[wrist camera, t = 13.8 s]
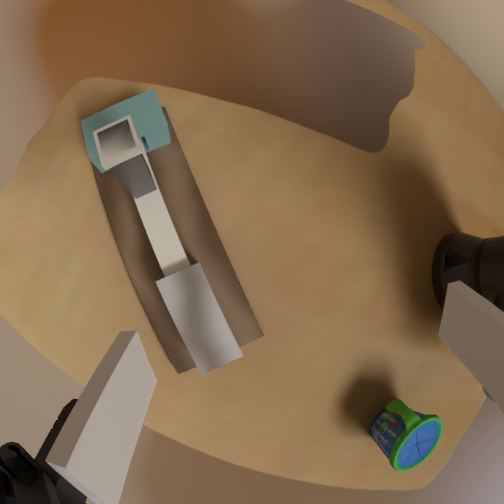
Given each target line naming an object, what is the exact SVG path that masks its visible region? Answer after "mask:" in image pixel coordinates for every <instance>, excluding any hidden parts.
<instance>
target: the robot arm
mask: <svg viewBox="0 0 504 504" xmlns="http://www.w3.org/2000/svg"><path fill="white" fill-rule="evenodd" d="M433 286H434V291H435V294H436V297H437V300H438V302H439V303H440V305H441V306H442V307H443V308H444V310H443V315H442V319H441V324H440V328H439V333H438V336H439V337H440V338H441V340H442V341H443V342H444V343H445V344H446V345H447V346H448V347H449V348H450V349H451V350H452V351H453V353H454V354H455V355H456V356H457V357H458V358H459V359H460V360H461V362H462V363H463V364H464V365H465V366H466V367H467V368H468V370H469V371H470V372H471V373H472V374H473V375H474V377H475V378H476V379H477V380H478V381H479V382H480V384H481V385H482V387H483V390H484V392H485V394H486V395H487V396H488V397H489V398H490V399H491V400H492V401H494V402H496V403H497V405H498V406H499V407H500V408H501V410H502V411H503V412H504V236H501V237H493V238H486V239H483V238H479V237H476V236H472V235H469V234H465V233H454V234H449V235H447V236H446V237H444V238H443V239H442V241H441V242H440V244H439V246H438V248H437V250H436V253H435V257H434V262H433ZM156 384H157V379H156V377H155V374H154V372H153V370H152V368H151V365H150V363H149V360H148V358H147V356H146V353H145V351H144V348H143V346H142V343H141V341H140V338H139V335H138V333H137V331H121V332H120V333H119V335H118V336H117V338H116V339H115V341H114V342H113V344H112V345H111V347H110V348H109V350H108V352H107V353H106V355H105V356H104V358H103V359H102V361H101V363H100V364H99V366H98V367H97V369H96V371H95V372H94V374H93V375H92V377H91V379H90V380H89V382H88V384H87V385H86V387H85V389H84V390H83V392H82V394H81V396H80V397H79V399H73V400H71V401H70V402H69V403H68V404H67V405H66V406H65V407H64V408H63V410H62V411H61V413H60V415H59V416H58V420H56V421H55V423H54V425H53V428H52V429H51V430H50V432H49V434H48V436H47V438H46V439H45V441H44V443H43V445H42V447H41V449H40V450H39V452H38V454H37V456H36V458H35V459H33V458H32V457H31V456H30V455H29V454H28V453H27V451H25V449H24V448H23V447H22V446H21V445H20V444H18V443H15V442H9V443H6V444H4V445H2V446H1V447H0V504H86V503H85V502H86V499H87V497H88V498H89V499H90V500H92V501H93V502H94V503H96V504H118V503H119V499H120V496H121V492H122V488H123V485H124V482H125V478H126V475H127V472H128V468H129V465H130V462H131V458H132V455H133V452H134V449H135V446H136V443H137V439H138V436H139V433H140V430H141V427H142V424H143V421H144V418H145V415H146V412H147V409H148V406H149V404H150V401H151V398H152V395H153V392H154V389H155V386H156Z"/></svg>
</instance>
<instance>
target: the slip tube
mask: <svg viewBox="0 0 504 504" xmlns="http://www.w3.org/2000/svg"><path fill="white" fill-rule="evenodd" d="M93 135H94V139H95V143H96V147H97V151H98V155H99V158H100V162H101V166H102V167H103V168H104V169H105V170H107V169H109V168H111V170H112V171H113V172H114V173H115V175H116V176H117V177H118V178H119V179H120V181H121V182H122V183H123V184H124V185H125V187H126V188H127V189H128V190H129V191H130V193H131V194H132V195H133V197H134V200H135V203H136V206H137V208H138V211H139V214H140V217H141V219H142V222H143V225H144V227H145V230H146V232H147V235H148V237H149V240H150V242H151V245H152V247H153V250H154V252H155V255H156V257H157V260H158V262H159V264H160V267H161V269H162V271H163V274H164V276H165V277H167V276H169V275H172V274H174V273H176V272H178V271H180V270H183V269H185V268H187V267H189V266H191V264H190V262H189V260H188V257H187V255H186V253H185V251H184V248H183V246H182V243H181V241H180V239H179V236H178V234H177V232H176V229H175V227H174V224H173V222H172V219H171V217H170V214H169V212H168V209H167V207H166V204H165V202H164V199H163V197H162V194H161V192H160V189H159V186H158V184H157V181H156V178H155V176H154V173H153V170H152V168H151V165H150V162H149V159H148V157H147V154H146V151H145V148H144V145H143V142H142V139H141V138H138V135H137V132H136V129H135V126H134V123H133V120H132V118H131V115H128V116H126V117H124V118H121V119H119V120H117V121H115V122H113V123H110V124H108V125H106V126H104V127H102V128H100V129H98V130H96V131H94V132H93Z"/></svg>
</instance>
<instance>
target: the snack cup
mask: <svg viewBox="0 0 504 504" xmlns="http://www.w3.org/2000/svg"><path fill="white" fill-rule="evenodd" d="M442 428H443V425H442V421H441V420H440V419H439V417H438V416H437V415H425V414H421V413H419V412H416V411H412V410H411V409H410V408H408V407H407V406H406V405H405V404H404V403H403V402H402V401H401V400H400V399H394V400H392V401H391V402H390V403H389V404H387V405H386V410H384V411H383V412H382V413H381V414H380V415H379V416H378V417H377V419H376V420H375V422H374V424H373V426H372V428H371V432H372V433H371V435H372V437H373V439H374V441H375V442H376V443H377V445H378V446H379V447H380V449H381V450H382V451H383V453H384V454H385V455H386V457H387V458H388V459H389V462H390V464H391V466H392V467H393V468H394V469H395V470H396V471H398V472H399V471H401V472H402V471H408V470H410V469H412V468H414V467H416V466H417V465H419V464H420V463H421V462H423V461H424V460H425V459H426V458H427V457H428V456H429V455H430V453H431V452H432V451H433V450H434V448H435V447H436V445H437V443H438V441H439V439H440V437H441V433H442Z"/></svg>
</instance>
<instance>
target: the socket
mask: <svg viewBox="0 0 504 504" xmlns="http://www.w3.org/2000/svg"><path fill="white" fill-rule="evenodd" d="M128 115H131V118H132V120H133V123H134V126H135V129H136V132H137V135H138V138H141V139H142V142H143V145H144V148H145V151H146V153H147V152H150V151H152V150H154V149H157V148H159V147H162V146H164V145H167V144H169V143H171V140H170V134H169V129H168V124H167V121H166V119H165V116H164V114H163V111H162V109H161V106H160V103H159V101H158V98H157V96H156V93H155V90H154V89H152V90H149V91H146V92H144V93H141V94H139V95H136V96H134V97H131V98H129V99H126V100H124V101H122V102H119V103H117V104H115V105H112V106H110V107H108V108H106V109H104V110H102V111H100V112H97V113H95V114H93V115H91V116H89V117H87V118H85V119H83V120H82V121H81V125H82V130H83V135H84V140H85V144H86V148H87V153H88V157H89V160H90V161H91V162H92V163H93V164H94V165H95V166H96V167H97V168H98V169H99V170H100V172H101V173H104V172H106V171H108V170H110V169H111V168H109V169H107V170H105V169H104V168H103V167H102V166H101V162H100V158H99V155H98V151H97V147H96V143H95V139H94V135H93V132H94V131H96V130H98V129H100V128H102V127H104V126H106V125H108V124H110V123H113V122H115V121H117V120H119V119H121V118H124V117H126V116H128Z"/></svg>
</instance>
